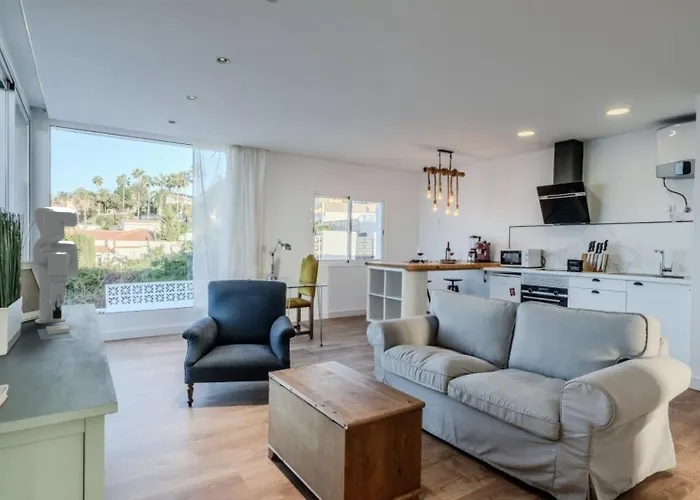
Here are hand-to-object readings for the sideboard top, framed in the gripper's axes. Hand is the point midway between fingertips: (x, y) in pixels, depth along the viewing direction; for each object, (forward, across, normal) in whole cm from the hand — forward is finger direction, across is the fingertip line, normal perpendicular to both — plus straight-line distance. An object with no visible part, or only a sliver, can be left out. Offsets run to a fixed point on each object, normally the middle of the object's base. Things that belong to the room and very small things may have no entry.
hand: (57, 318), depth 191 cm
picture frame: (+5, -1, 0) cm, 5 cm away
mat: (+6, +5, -2) cm, 8 cm away
